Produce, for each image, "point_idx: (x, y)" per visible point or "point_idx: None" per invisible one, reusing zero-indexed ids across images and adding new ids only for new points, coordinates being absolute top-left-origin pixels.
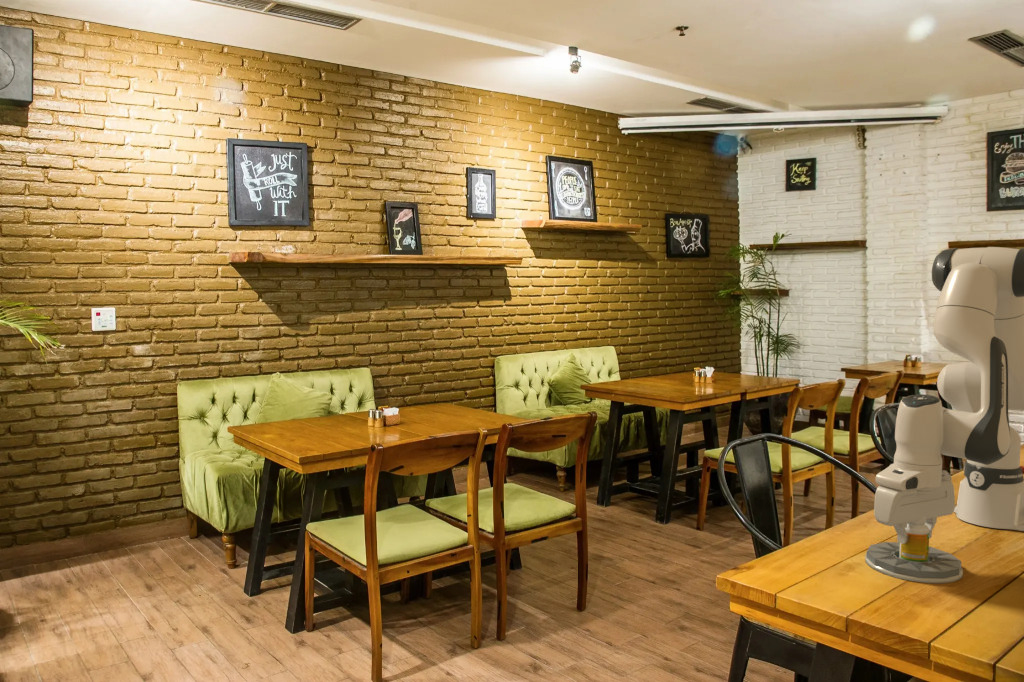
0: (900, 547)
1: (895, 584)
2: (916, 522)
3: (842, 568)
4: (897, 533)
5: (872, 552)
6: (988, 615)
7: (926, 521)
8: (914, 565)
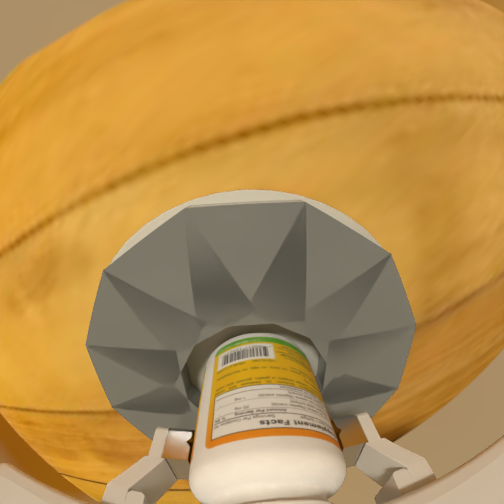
0: (204, 388)
1: (99, 406)
2: None
3: (26, 274)
4: (145, 457)
5: (115, 295)
6: (181, 498)
7: (394, 470)
8: (180, 428)
